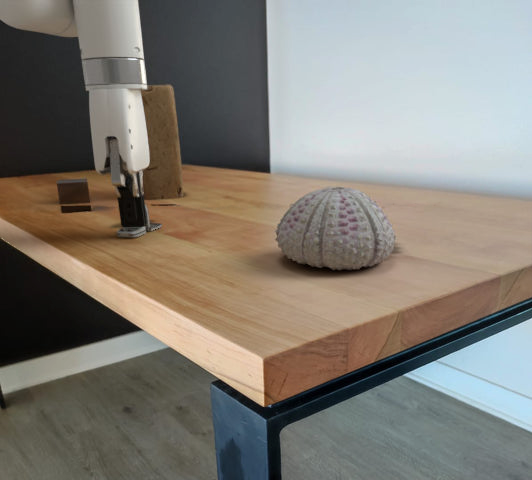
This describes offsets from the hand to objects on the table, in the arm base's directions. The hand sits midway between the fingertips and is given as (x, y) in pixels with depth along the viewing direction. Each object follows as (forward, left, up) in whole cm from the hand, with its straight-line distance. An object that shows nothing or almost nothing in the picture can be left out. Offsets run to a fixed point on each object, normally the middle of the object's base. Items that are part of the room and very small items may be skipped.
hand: (134, 225), depth 75 cm
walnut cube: (-16, +22, -1) cm, 28 cm away
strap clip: (0, +3, -2) cm, 3 cm away
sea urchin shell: (+27, -14, -2) cm, 30 cm away
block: (-2, +29, -2) cm, 29 cm away
